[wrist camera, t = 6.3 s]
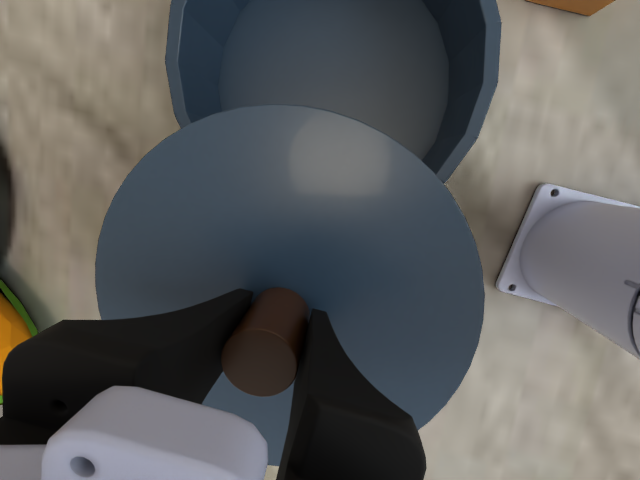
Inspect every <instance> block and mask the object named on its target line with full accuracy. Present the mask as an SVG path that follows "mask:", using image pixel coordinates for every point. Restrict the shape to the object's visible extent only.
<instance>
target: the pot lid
mask: <svg viewBox="0 0 640 480" xmlns="http://www.w3.org/2000/svg"><path fill="white" fill-rule="evenodd" d="M95 287H96V294H97V301H98V308H99V312H100V316H101V319H102V320H113V319H127V318H137V317H144V316H150V315H157V314H163V313H168V312H172V311H176V310H180V309H184V308H187V307H191V306H194V305H197V304H199V303H202V302H205V301H208V300H211V299H213V298H216V297H218V296H221V295H223V294H226V293H228V292H231V291H233V290H236V289H239V288H241V289H245V290H248V291H252V292H253V297H252V301H251V306H250V308H249V309H248V310H247V312H246V313H245V315H244V316H243V318H242V319H241V321H240V322H239V324H238V325H237V327H236V328H235V330H234V331H233V333H232V334H231V335H230V337H229V338H228V340H227V341H226V343H225V344H224V347H223V349H222V353H221V364H222V368H223V372H222V373H221V375H220V376H219V378H218V379H217V381H216V382H215V384H214V385H213V387H212V388H211V390H210V391H209V393H208V394H207V396H206V398H205V399H204V401H203V403H202V404H201V405H204V406H208V407H211V408H215V409H219V410H222V411H226V412H229V413H233V414H235V415H237V416H239V417H241V418H243V419H245V420H247V421H249V422H251V423H252V424H254V425H255V427H256V428H257V429H258V431H259V432H260V434H261V435H262V436H263V438H264V439H265V440H266V442H267V449H268V464H267V465H273V466H280V461H281V457H282V452H283V448H284V444H285V439H286V435H287V431H288V425H289V419H290V412H291V404H292V397H293V389H294V382H295V378H296V375H297V372H298V368H299V363H300V359H301V355H302V350H303V346H304V341H305V335H306V331H307V327H308V323H309V319H310V315H311V312H312V308H314V309H318V310H322V311H325V312H327V314H328V316H329V319H330V322H331V325H332V327H333V330H334V332H335V334H336V336H337V338H338V340H339V342H340V344H341V346H342V348H343V349H344V351H345V353H346V354H347V356H348V357H349V358H350V360H351V361H352V362H353V364H354V365H355V366H356V368H357V369H358V370H359V371H360V372H361V373H362V374H363V376H364V377H365V378H366V379H367V380H368V381H369V382H370V383H371V384H372V385H373V386H374V387H375V388H376V389H377V390H379V391H380V392H381V393H382V394H383V395H384V396H385V397H387V398H388V399H389V400H390V401H392V402H393V403H394V404H396V405H397V406H398V407H400V408H401V409H403V410H404V411H405V412H407V413H408V414H410V415H411V416H412V417H413V420H414V423H415V425H416V428H417V430H419V429H420V428H422V427H423V426H424V425H425V424H427V423H428V422H429V421H430V420H431V419H432V418H433V417H434V416H435V415H436V414H437V413H438V412H439V411H440V410H441V409H442V408H443V407H444V406H445V405H446V404H447V402H448V401H449V399H450V398H451V397H452V395H453V394H454V393H455V391H456V390H457V389H458V387H459V386H460V384H461V382H462V380H463V378H464V376H465V375H466V373H467V371H468V369H469V367H470V365H471V362H472V360H473V357H474V354H475V351H476V349H477V346H478V343H479V338H480V333H481V328H482V324H483V315H484V298H485V294H484V283H483V272H482V266H481V262H480V258H479V254H478V250H477V246H476V242H475V240H474V237H473V235H472V233H471V230H470V228H469V225H468V223H467V220H466V218H465V216H464V215H463V213H462V211H461V210H460V208H459V206H458V204H457V203H456V201H455V199H454V198H453V196H452V194H451V193H450V192H449V190H448V189H447V188H446V187H445V186H444V184H443V183H442V182H441V181H440V179H439V178H438V177H437V176H436V174H435V173H434V172H433V171H432V170H431V169H430V168H429V167H428V166H427V165H426V164H425V163H424V162H422V161H421V160H420V159H419V158H418V157H417V156H416V155H415V154H414V153H413V152H412V151H410V150H409V149H408V148H406V147H405V146H403V145H402V144H400V143H399V142H397V141H396V140H395V139H393V138H392V137H390V136H389V135H387V134H386V133H384V132H382V131H380V130H378V129H376V128H374V127H372V126H370V125H368V124H366V123H364V122H362V121H360V120H357V119H354V118H351V117H348V116H345V115H342V114H339V113H336V112H333V111H330V110H325V109H320V108H314V107H309V106H304V105H290V104H263V105H253V106H244V107H238V108H235V109H231V110H227V111H223V112H219V113H215V114H212V115H210V116H207V117H205V118H202V119H200V120H198V121H195V122H193V123H191V124H188V125H187V126H185V127H183V128H182V129H180V130H178V131H177V132H175V133H173V134H172V135H170V136H168V137H167V138H165V139H164V140H163V141H162V142H160V143H159V144H158V145H157V146H156V147H154V148H153V149H152V150H151V151H150V152H148V153H147V154H146V155H145V156H144V157H143V158H142V159H141V160H140V162H139V163H138V164H137V165H136V166H135V167H134V168H133V170H132V171H131V172H130V173H129V174H128V175H127V177H126V179H125V180H124V182H123V183H122V185H121V186H120V188H119V189H118V191H117V193H116V194H115V196H114V198H113V200H112V202H111V205H110V207H109V209H108V211H107V214H106V216H105V218H104V222H103V226H102V229H101V233H100V236H99V240H98V247H97V254H96V262H95Z"/></svg>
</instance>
